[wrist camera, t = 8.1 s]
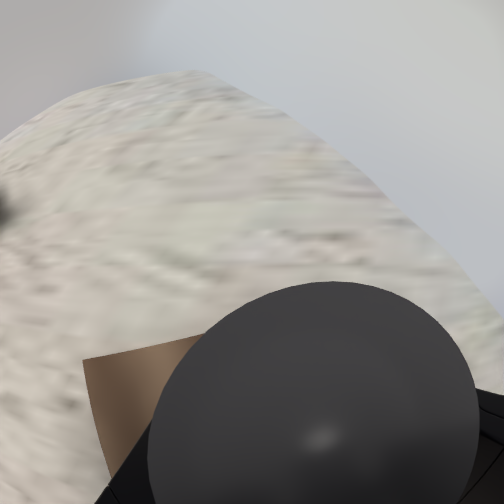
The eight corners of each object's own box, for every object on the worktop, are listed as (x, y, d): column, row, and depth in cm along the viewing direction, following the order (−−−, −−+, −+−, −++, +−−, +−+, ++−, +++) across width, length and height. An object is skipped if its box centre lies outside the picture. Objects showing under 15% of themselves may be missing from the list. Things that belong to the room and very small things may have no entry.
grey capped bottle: (251, 483, 11) (305, 628, 1) (190, 412, 12) (77, 412, 3) (326, 425, 12) (512, 421, 3) (267, 357, 14) (349, 226, 4)
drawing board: (146, 543, 11) (142, 548, 10) (88, 362, 17) (82, 359, 17) (371, 482, 14) (377, 484, 14) (307, 307, 21) (311, 302, 20)
